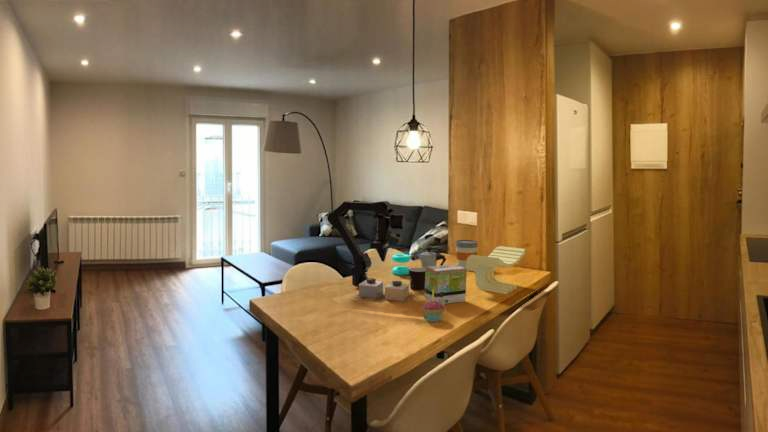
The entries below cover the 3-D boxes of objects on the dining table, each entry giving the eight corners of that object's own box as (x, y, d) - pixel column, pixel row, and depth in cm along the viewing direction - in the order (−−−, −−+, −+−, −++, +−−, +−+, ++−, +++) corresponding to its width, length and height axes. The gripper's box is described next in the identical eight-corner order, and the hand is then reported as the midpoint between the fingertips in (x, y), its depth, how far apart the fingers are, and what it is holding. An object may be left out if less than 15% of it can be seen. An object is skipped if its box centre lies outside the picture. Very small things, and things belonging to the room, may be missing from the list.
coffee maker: (413, 283, 238) (413, 247, 236) (419, 279, 246) (419, 244, 244) (442, 286, 232) (443, 249, 230) (447, 282, 240) (448, 246, 238)
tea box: (436, 306, 200) (437, 271, 198) (423, 300, 209) (424, 266, 207) (466, 301, 207) (467, 267, 205) (452, 295, 216) (453, 263, 214)
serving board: (353, 299, 208) (353, 297, 208) (365, 292, 220) (365, 290, 220) (404, 305, 200) (404, 303, 200) (413, 297, 212) (413, 295, 212)
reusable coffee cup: (454, 269, 271) (455, 242, 269) (454, 264, 283) (455, 239, 281) (477, 270, 268) (478, 243, 267) (476, 265, 281) (477, 240, 279)
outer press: (384, 299, 206) (384, 286, 205) (392, 293, 215) (392, 281, 214) (402, 301, 203) (402, 288, 202) (409, 295, 212) (409, 283, 211)
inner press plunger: (361, 295, 210) (361, 280, 210) (367, 291, 216) (367, 277, 216) (375, 296, 208) (375, 281, 207) (380, 293, 214) (380, 278, 213)
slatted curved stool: (493, 280, 246) (494, 245, 244) (523, 284, 236) (525, 248, 235) (465, 292, 222) (466, 253, 221) (497, 298, 213) (499, 258, 211)
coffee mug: (425, 293, 219) (426, 271, 218) (406, 292, 221) (407, 271, 220) (428, 287, 230) (428, 266, 229) (410, 286, 232) (410, 265, 231)
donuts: (414, 254, 259) (404, 257, 251) (414, 273, 260) (404, 276, 252) (398, 252, 265) (388, 255, 257) (398, 270, 266) (388, 274, 258)
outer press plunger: (387, 297, 206) (387, 282, 205) (392, 294, 212) (392, 279, 211) (401, 299, 204) (401, 284, 203) (406, 295, 210) (406, 280, 209)
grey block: (359, 296, 210) (359, 283, 209) (367, 291, 219) (367, 279, 218) (376, 298, 207) (376, 285, 207) (384, 292, 216) (384, 280, 215)
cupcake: (420, 316, 186) (420, 286, 185) (442, 316, 187) (442, 285, 185) (424, 323, 177) (424, 291, 176) (446, 323, 178) (447, 291, 177)
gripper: (393, 231, 213) (392, 266, 215) (406, 226, 230) (405, 259, 232) (369, 230, 217) (369, 264, 218) (384, 225, 234) (384, 257, 236)
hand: (383, 261), depth 226 cm, fingers closed
